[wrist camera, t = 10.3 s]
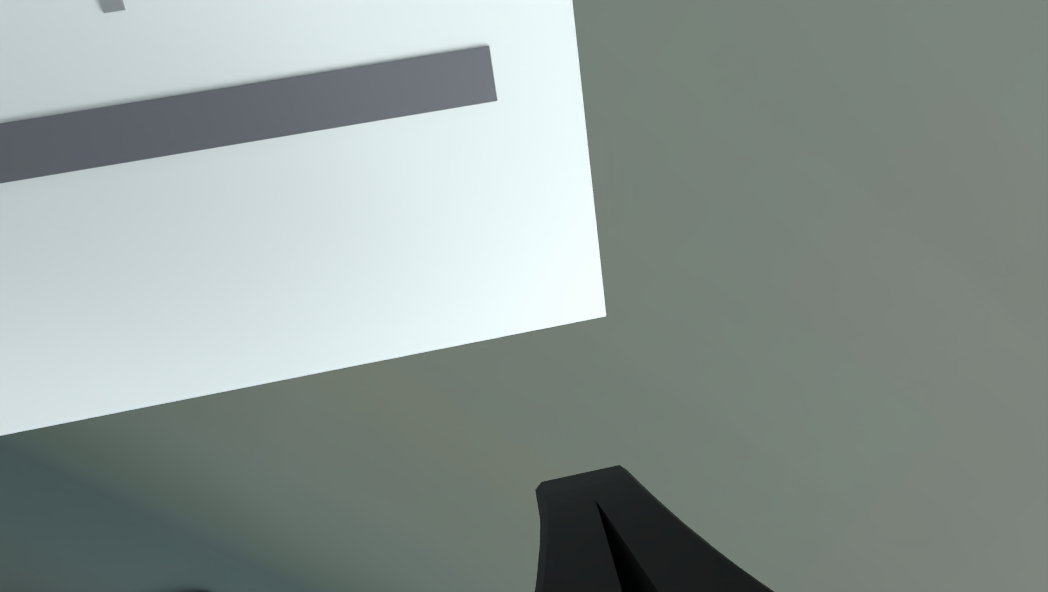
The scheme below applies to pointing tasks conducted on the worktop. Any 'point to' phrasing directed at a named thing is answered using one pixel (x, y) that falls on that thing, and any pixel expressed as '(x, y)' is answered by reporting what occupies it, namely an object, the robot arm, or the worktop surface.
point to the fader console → (279, 191)
